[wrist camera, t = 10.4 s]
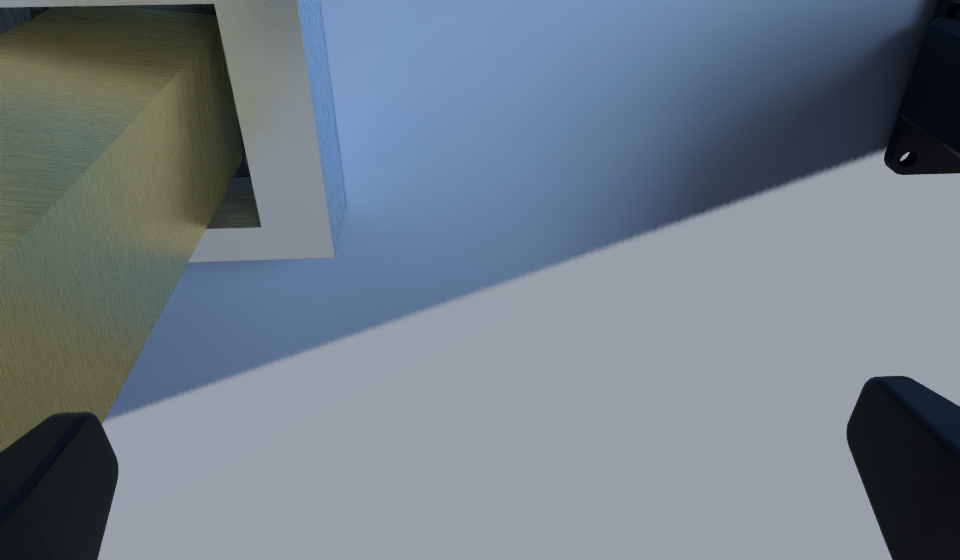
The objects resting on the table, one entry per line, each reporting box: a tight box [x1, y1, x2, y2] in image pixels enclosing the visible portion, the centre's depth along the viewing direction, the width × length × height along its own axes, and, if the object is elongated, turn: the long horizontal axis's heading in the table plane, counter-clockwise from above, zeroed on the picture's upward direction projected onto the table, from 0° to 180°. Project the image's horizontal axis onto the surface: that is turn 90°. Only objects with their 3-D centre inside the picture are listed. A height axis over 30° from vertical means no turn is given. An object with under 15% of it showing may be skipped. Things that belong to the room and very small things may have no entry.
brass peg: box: [0, 5, 243, 452], centre depth 13 cm, size 4×4×13 cm
